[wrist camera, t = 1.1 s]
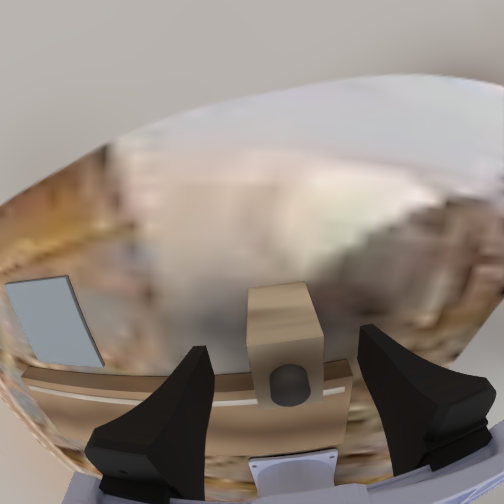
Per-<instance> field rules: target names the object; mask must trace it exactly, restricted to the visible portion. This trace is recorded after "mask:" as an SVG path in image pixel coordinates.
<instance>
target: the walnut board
mask: <svg viewBox="0 0 504 504" xmlns="http://www.w3.org/2000/svg"><path fill="white" fill-rule="evenodd" d="M167 378H168V377H145V376H116V375H100V374H87V373H76V372H67V371H58V370H50V369H43V368H36V367H30V366H29V367H28V368H27V370H26V371H25V372H24V373H23V375H22V376H21V379H22V380H23V382H24V383H25V385H26V386H27V388H28V389H29V391H30V392H31V394H32V395H33V397H34V398H35V400H36V401H37V403H38V404H39V405H40V407H41V408H42V410H43V411H44V412H45V414H46V415H47V416H48V418H49V419H50V420H51V422H52V423H53V424H54V425H55V427H56V428H57V429H58V430H59V432H60V433H61V434H62V435H63V436H65V437H69V438H73V439H77V440H81V441H86V442H88V441H89V439H90V437H91V434H92V432H93V430H94V428H97V427H99V426H101V425H104V424H106V423H108V422H110V421H112V420H114V419H116V418H118V417H120V416H122V415H123V414H125V413H127V412H128V411H130V410H131V409H133V408H134V407H136V406H137V405H138V404H140V403H141V402H143V401H144V400H145V399H146V398H148V397H149V396H150V395H151V394H152V393H153V392H155V391H156V390H157V389H158V388H159V387H160V386H161V385H162V384H163V383H164V381H165V380H166V379H167ZM352 382H353V374H352V371H351V369H350V366H349V364H348V361H347V359H346V360H341V361H335V362H330V363H324V379H323V402H320V403H314V404H307V405H300V406H293V407H285V408H276V409H266V410H259V409H258V404H257V399H256V394H255V389H254V384H253V379H252V373H242V374H228V375H215V387H214V398H213V403H212V408H211V413H210V419H209V424H208V429H207V435H206V445H205V456H244V455H261V454H274V453H284V452H293V451H301V450H308V449H314V448H320V447H326V446H332V445H337V444H342V443H344V438H345V432H346V426H347V420H348V413H349V406H350V398H351V390H352Z"/></svg>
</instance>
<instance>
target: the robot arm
mask: <svg viewBox="0 0 504 504" xmlns="http://www.w3.org/2000/svg"><path fill="white" fill-rule="evenodd" d="M357 359H358V363H359V366H360V370H361V373H362V376H363V378H364V381H365V383H366V385H367V387H368V390H369V392H370V394H371V396H372V398H373V401H374V403H375V405H376V407H377V410H378V412H379V415H380V418H381V421H382V424H383V428H384V432H385V435H386V439H387V443H388V448H389V452H390V457H391V462H392V468H393V475H394V477H393V478H390V479H386V480H383V481H380V482H376V483H372V484H369V485H363V484H358V483H351V484H343V485H338V486H334V480H333V478H334V472H335V467H336V462H337V456H338V451H337V449H329V450H324V451H318V452H312V453H305V454H297V455H289V456H280V457H269V458H254V459H250V460H249V461H248V464H249V467H250V470H251V473H252V476H253V479H254V481H255V484H256V487H257V490H258V498H257V499H255V500H253V501H252V502H213V501H205V494H204V467H205V445H206V435H207V429H208V424H209V419H210V413H211V408H212V403H213V398H214V387H215V375H214V372H213V368H212V365H211V362H210V358H209V355H208V351H207V348H206V346H193V347H192V349H191V350H190V351H189V352H188V354H187V355H186V356H185V358H184V359H183V360H182V361H181V363H180V364H179V365H178V366H177V368H176V369H175V370H174V371H173V373H172V374H171V375H170V376H169V377H168V378H167V379H166V380H165V381H164V383H163V384H162V385H161V386H160V387H159V388H158V389H157V390H156V391H155V392H153V393H152V394H151V395H150V396H149V397H148V398H146V399H145V400H144V401H143V402H141V403H140V404H138V405H137V406H136V407H134V408H133V409H131V410H130V411H128V412H127V413H125V414H123V415H122V416H120V417H118V418H116V419H114V420H112V421H110V422H108V423H106V424H104V425H101V426H99V427H97V428H94V430H93V432H92V434H91V437H90V439H89V441H88V443H87V445H86V448H85V451H84V452H85V455H86V457H87V458H88V460H89V461H90V462H91V463H92V464H93V465H94V466H95V467H96V468H97V469H98V470H99V471H100V472H101V473H102V474H103V477H102V480H100V479H98V478H96V477H94V476H90V475H87V474H83V473H80V472H74V474H73V477H72V479H71V482H70V484H69V487H68V489H67V492H66V494H65V497H64V499H63V502H62V504H470V503H471V502H473V501H475V500H476V499H477V498H479V497H481V496H483V495H484V494H486V493H487V492H489V491H491V490H492V489H494V488H495V487H497V486H498V485H500V484H501V483H502V482H504V420H503V421H501V422H499V423H498V424H496V425H495V426H493V427H492V428H491V429H490V430H488V428H487V427H486V425H487V424H488V420H487V419H486V415H487V413H488V412H489V410H490V408H491V406H492V405H493V403H494V400H495V398H496V390H495V389H494V388H493V386H492V385H491V384H490V382H489V381H488V380H487V379H486V378H485V377H478V376H472V375H467V374H462V373H459V372H455V371H452V370H449V369H446V368H443V367H441V366H438V365H436V364H433V363H431V362H429V361H427V360H425V359H423V358H421V357H419V356H418V355H416V354H414V353H413V352H411V351H409V350H408V349H406V348H405V347H403V346H402V345H400V344H399V343H397V342H396V341H394V340H393V339H392V338H390V337H389V336H388V335H386V334H385V333H384V332H382V331H381V330H380V329H378V328H377V327H376V326H374V325H373V324H368V325H363V326H360V333H359V346H358V357H357Z"/></svg>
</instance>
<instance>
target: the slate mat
mask: <svg viewBox="0 0 504 504" xmlns="http://www.w3.org/2000/svg"><path fill="white" fill-rule="evenodd" d="M4 286H5V289H6V291H7V294H8V297H9V299H10V302H11V304H12V306H13V309H14V311H15V313H16V316H17V318H18V320H19V322H20V325H21V327H22V329H23V331H24V333H25V335H26V337H27V339H28V341H29V343H30V345H31V347H32V349H33V351H34V353H35V355H36V356H37V358H38V360H39V362H45V363H54V364H64V365H75V366H88V367H104V365H105V364H104V362H103V360H102V358H101V356H100V354H99V352H98V350H97V348H96V345H95V343H94V341H93V339H92V337H91V334H90V332H89V330H88V327H87V325H86V323H85V320H84V318H83V315H82V313H81V311H80V308H79V305H78V303H77V300H76V298H75V295H74V292H73V289H72V287H71V284H70V281H69V278H68V276H60V277H52V278H44V279H36V280H28V281H20V282H12V283H6V284H4Z"/></svg>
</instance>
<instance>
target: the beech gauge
mask: <svg viewBox="0 0 504 504" xmlns="http://www.w3.org/2000/svg"><path fill="white" fill-rule="evenodd" d="M246 348H247V353H248V358H249V363H250V368H251V373H252V379H253V384H254V389H255V394H256V399H257V404H258V409H259V410H266V409H276V408H285V407H293V406H300V405H307V404H314V403H320V402H323V379H324V335H323V332H322V329H321V327H320V324H319V321H318V318H317V315H316V312H315V309H314V306H313V304H312V301H311V298H310V295H309V292H308V290H307V287H306V284H305V281H304V282H297V283H289V284H281V285H273V286H265V287H257V288H248V312H247V338H246Z"/></svg>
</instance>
